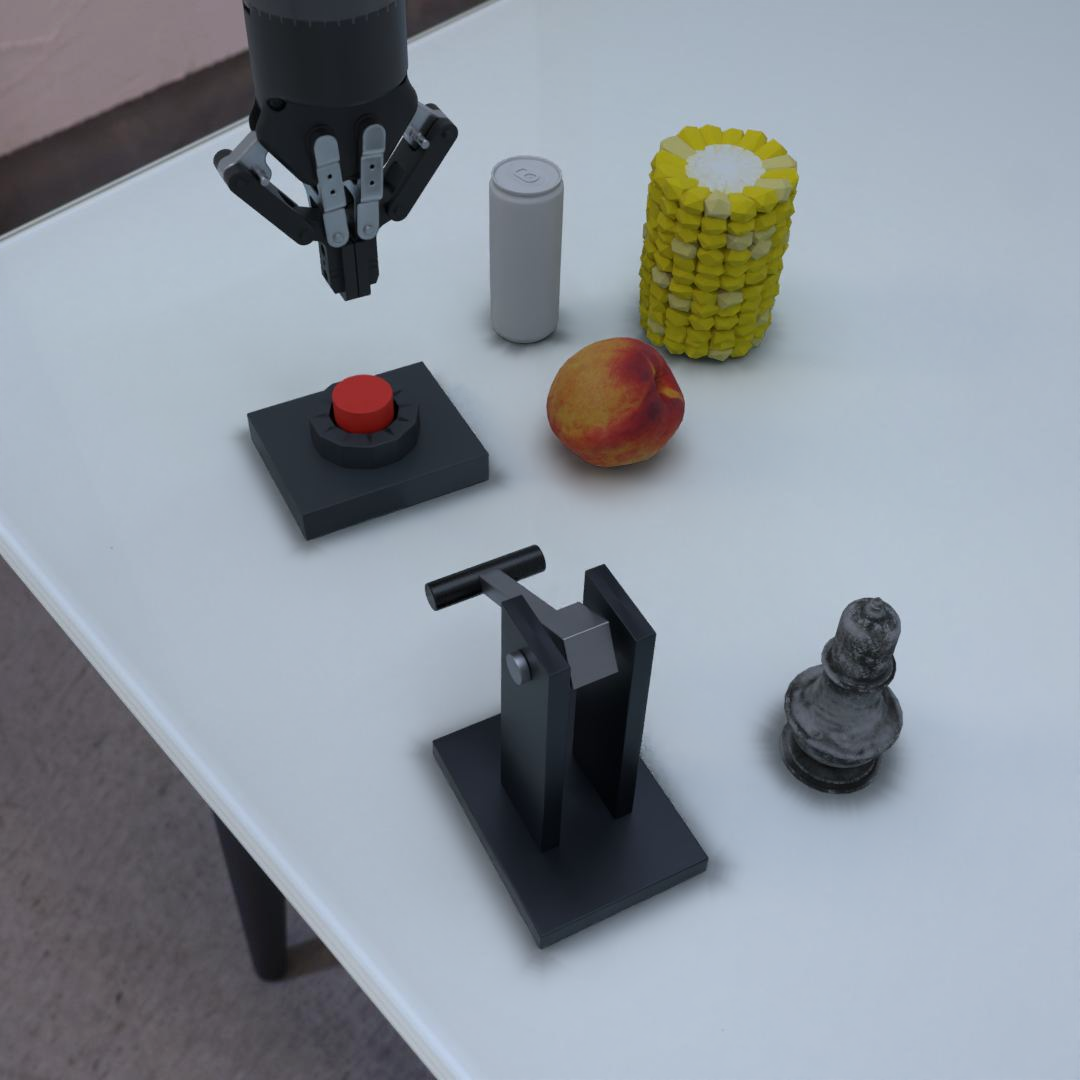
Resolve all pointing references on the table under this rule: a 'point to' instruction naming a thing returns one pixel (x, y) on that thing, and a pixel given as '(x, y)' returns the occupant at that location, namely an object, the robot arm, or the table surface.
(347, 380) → the button
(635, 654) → the bracket
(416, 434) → the control block
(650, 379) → the fruit
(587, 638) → the lever
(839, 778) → the black chess piece
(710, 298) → the food
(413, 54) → the table surface
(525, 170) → the beverage can
